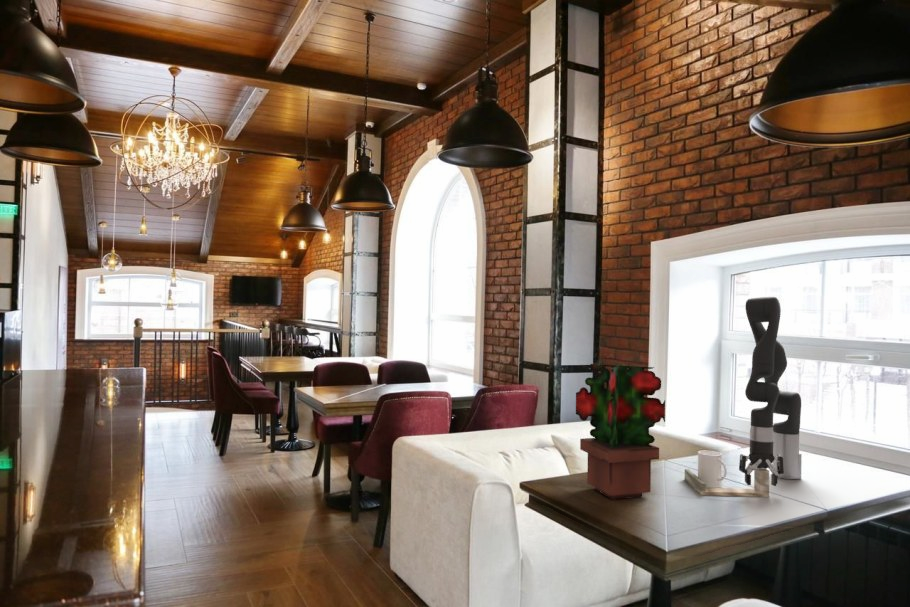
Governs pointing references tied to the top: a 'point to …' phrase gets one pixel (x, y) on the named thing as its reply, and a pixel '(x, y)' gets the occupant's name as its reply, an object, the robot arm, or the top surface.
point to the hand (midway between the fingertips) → (761, 485)
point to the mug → (710, 468)
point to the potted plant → (620, 428)
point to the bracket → (759, 488)
